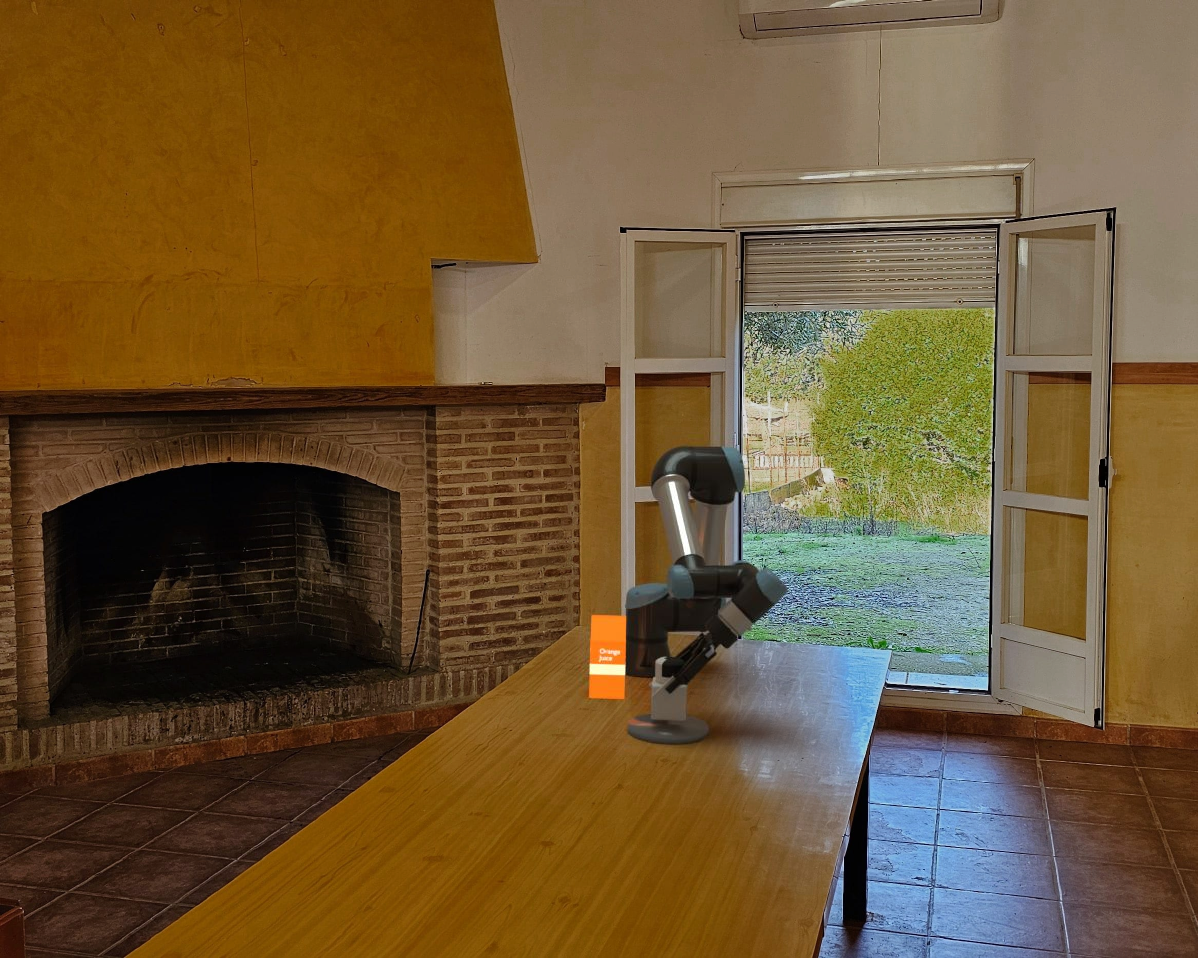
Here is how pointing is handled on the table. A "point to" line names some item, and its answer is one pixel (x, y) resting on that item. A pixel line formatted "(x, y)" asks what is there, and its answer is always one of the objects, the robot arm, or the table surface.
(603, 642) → the orange juice
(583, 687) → the table surface
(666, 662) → the container
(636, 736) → the slate plate
